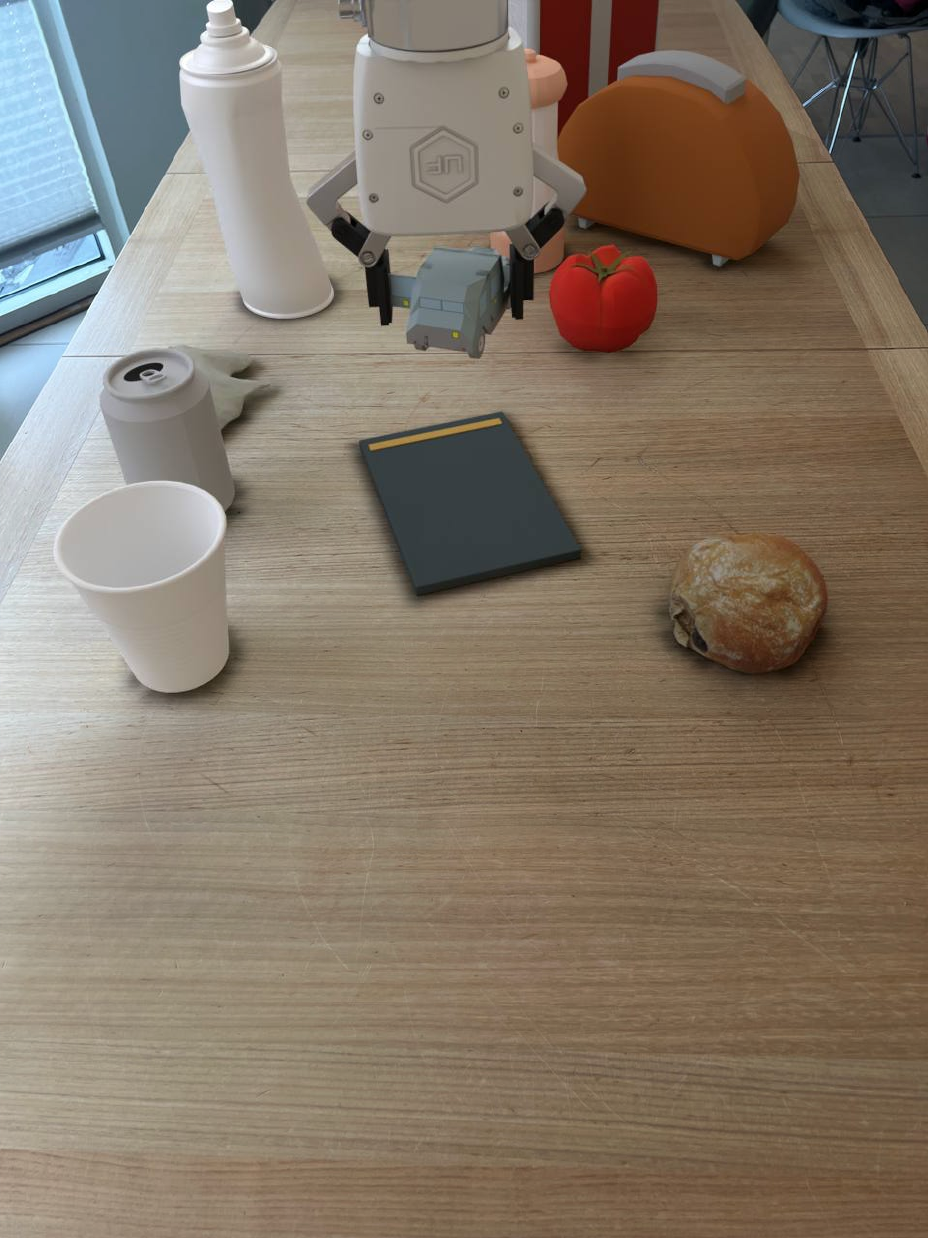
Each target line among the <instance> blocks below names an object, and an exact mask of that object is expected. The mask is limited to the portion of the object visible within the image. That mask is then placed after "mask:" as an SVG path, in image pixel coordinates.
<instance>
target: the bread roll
mask: <svg viewBox="0 0 928 1238" xmlns="http://www.w3.org/2000/svg"><path fill="white" fill-rule="evenodd" d="M824 577H825V575H823V574H822V572H821V571H820V568H819V567H818V566H817V563H815V561H814V560H813V559H812V558H811V557H810V556H809V554H807V553H806V551H804V549H802V548H801V547H800V546H799V545H798V544H797V543H795V542H794V541H792V540H791V539H787V538H786V537H784V536H783V535H780V534H763V532H762V533H761V532H752V533H750V534H725V535H716V536H711V537H708V538H705V539H702V540H700V541H698V542H696V543H695V544H693V545H692V546H691V547H690V548H689V549H687V550H686V551H685V552H684V553H683V555H682V556H681V557H680V558H679V560H678V562H677V563H676V565H675V567H674V569H673V572H672V574H671V577H670V579H669V586H668V589H669V597H668V598H669V599H668V601H669V606H668V607H669V608H668V612H669V615H670V619H671V622H672V623H673V625H674V628H673V637H674V638H675V640H676V641H677V644H680V645H681V646H683V647H684V648H689V649H691V650H693V651H695V652H697V653H698V654H700V655H701V656H703V657H705V658H706V659H709V660H711V661H713V662H716V663H718V664H721V665H723V666H725V667H727V668H729V669H730V670H733V671H737V672H741V673H745V674H753V675H755V674H765V673H771V672H774V671H778V670H781V669H782V670H783V669H785V668H787V667H789V666H791V665H794V664H795V663H797V661H798V660H799V659H800V658H801V656H803V654H804V652H805V651H806V649H807V648H808V647H809V645H810V644H811V643H812V641H813V640H814V638H815V637H816V635H817V631H818V630H819V628H820V627H821V625H822V622H823V620H824V617H825V616H826V613H827V609H828V603H829V602H828V601H829V599H828V589H827V583H826V581H825V579H824Z"/></svg>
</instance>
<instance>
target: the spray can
mask: <svg viewBox="0 0 928 1238" xmlns="http://www.w3.org/2000/svg"><path fill="white" fill-rule="evenodd" d="M206 12H207V17H208V22H207V23H206V24H205V28H206V30H205V31H203V32H202V33H201V34H200V36H199V39H200V42H201V43H200V44H199V45H198V46H196V47H197V48H194V49H192V50H189V51H188V52H185V54H183V55H182V56H181V57H180V59H179V63H178V64H179V67H180V70H179V88H180V89H179V91H180V106H181V108H182V111H183V114H184V116H185V120H186V122H187V126H188V128H189V131H190V134H191V137H192V140H193V142H194V144H195V147H196V151H197V153H198V156H199V159H200V162H201V164H202V167H203V170H204V174H205V175H206V179H207V181H208V184H209V187H210V189H211V190H210V191H211V194H212V198H213V201H214V206H215V210H216V214H217V219H218V221H219V226H220V231H221V235H222V240H223V243H224V247H225V252H226V255H227V260H228V263H229V264H228V265H229V268H230V271H231V274H232V276H233V278H234V281H235V283H236V286H237V288H238V291H239V293H240V296H241V298H242V302H243V304H244V306H245V307H246V308H247V309H248V310H249V311H250V312H252V313H254V314H255V315H258V316H260V317H264V318H267V319H268V318H269V319H274V320H275V319H276V320H293V319H299V318H304V317H309V316H312V315H315V314H316V313H319V312H321V311H323V310H324V309H326V308H327V307H328V306H329V305H331V303H332V301H333V300H334V297H335V292H334V288H333V286H332V283H331V280H330V277H329V274H328V271H327V268H326V265H325V262H324V259H323V256H322V253H321V252H320V251H321V250H320V249H319V246H318V243H317V241H316V239H315V236H314V234H313V231H312V229H311V226H310V223H309V221H308V218H307V216H306V213H305V211H304V209H303V205H302V203H301V201H300V198H299V195H298V194H297V190H296V188H295V186H294V183H293V180H292V178H291V170H290V162H289V161H290V160H289V153H288V142H287V133H286V123H285V122H286V121H285V113H284V104H283V65H282V63H281V61H280V60H279V54H278V52H277V50H276V49H275V48H273V47H271V46H270V45H266V44H263V43H261V42H259V40H257V39H256V38H254V37H252V36H250V33H251V32H250V30H249V29H248V28H247V27H245V26H242V21H241V19H240V18H237V17H236V13H235V7H234V2H233V0H212V1H210V2H208V3H207V5H206Z"/></svg>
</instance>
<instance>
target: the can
mask: <svg viewBox="0 0 928 1238" xmlns="http://www.w3.org/2000/svg"><path fill="white" fill-rule="evenodd" d="M102 385H103V388H102V390H101V392H100V394H99V407H100V411H101V413H102V416H103V419H104V422H105V425H106V429H107V431H108V434H109V437H110V440H111V443H112V446H113V449H114V452H115V455H116V458H117V461H118V464H119V467H120V470H121V473H122V477H123V479H124V482H125V486H126V485H130V484H134V483H141V482H148V481H173V482H182V483H185V484H189V485H193V486H196V487H198V488H200V489H203V490H205V491H206V492H208V493H209V494H211V495H212V496H213V497H215V498H216V500H217V501H218V502H219V503H220V505H221V506H222V508H223V510H224V513H225V512H226V511H227V510H228V509H229V508H230V506H232V503H233V501H234V499H235V495H236V491H235V483H234V481H233V480H234V479H233V475H232V471H231V468H230V463H229V459H228V455H227V451H226V447H225V443H224V439H223V435H222V430H220V426H219V422H218V418H217V414H216V410H215V405H214V401H213V397H212V393H211V389H210V385H209V381H208V378H207V376H206V375H205V374H204V373H203V371H202V370H200V369H198V368H196V367H195V362H194V361H193V360H192V358H191V357H190V356H189V355H187V354H185V353H183V352H181V351H178V350H173V349H168V347H167V348H166V347H165V348H159V347H158V348H157V347H156V348H155V347H154V348H147V349H142V350H137V351H135V352H131V353H128V354H126V355H125V356H122V357H120V358H119V359H117V360H115V361H114V362H113V363H112V364H111V365H110V366H108V367H107V369H106V370H105V372H104V373H103V376H102Z"/></svg>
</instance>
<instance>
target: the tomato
mask: <svg viewBox="0 0 928 1238" xmlns="http://www.w3.org/2000/svg"><path fill="white" fill-rule="evenodd" d="M587 252H588V254H587V255H585V254H580V253H578V254H573V255H569V256H568V257H566V259H565V260H564V261H563V262H561V263H560V264H559V266H557V268H556V270H555V272H554V274H553V275H552V278H551V280H550V283H549V284H550V285H549V292H548V299H549V300H548V301H549V308H550V311H551V313H552V316H553V319H554V322H555V324H556V327H557V330H558V333H559V336H560V337H561V338H562V339H563V340H564V341H566V342H567V343H568V345H570V346H571V347H572V348H573V349H577V350H579V351H581V352H584V353H586V352H590V353H591V352H592V353H604V354H613V353H616V352H621V351H623V350H626V349H628V348H630V347H631V346H633V345H634V344H636V342H637V341H638V339H639V338H640V336H642V335H643V334H644V333H646V332H647V331H648V330H650V328H651V326H652V325H653V323H654V320H655V317H656V314H657V308H658V301H659V300H658V299H659V296H658V294H659V293H658V282H657V279H656V276H655V272H654V270H653V268H652V267H651V265H650V263H649V261H647V260H646V259H645V258H644V256H641V255H639V256H636V255H635V256H629V257H625V256H627V255H629V254H630V253H632V250H629V251H627V252H624V253H621V251H620V250H619V249H618V248H617V246H616V245H615V244H608V245H602V246H599V247H598V248H596V249H595V250H594V251H592V252H591V251H589V250H587Z"/></svg>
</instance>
